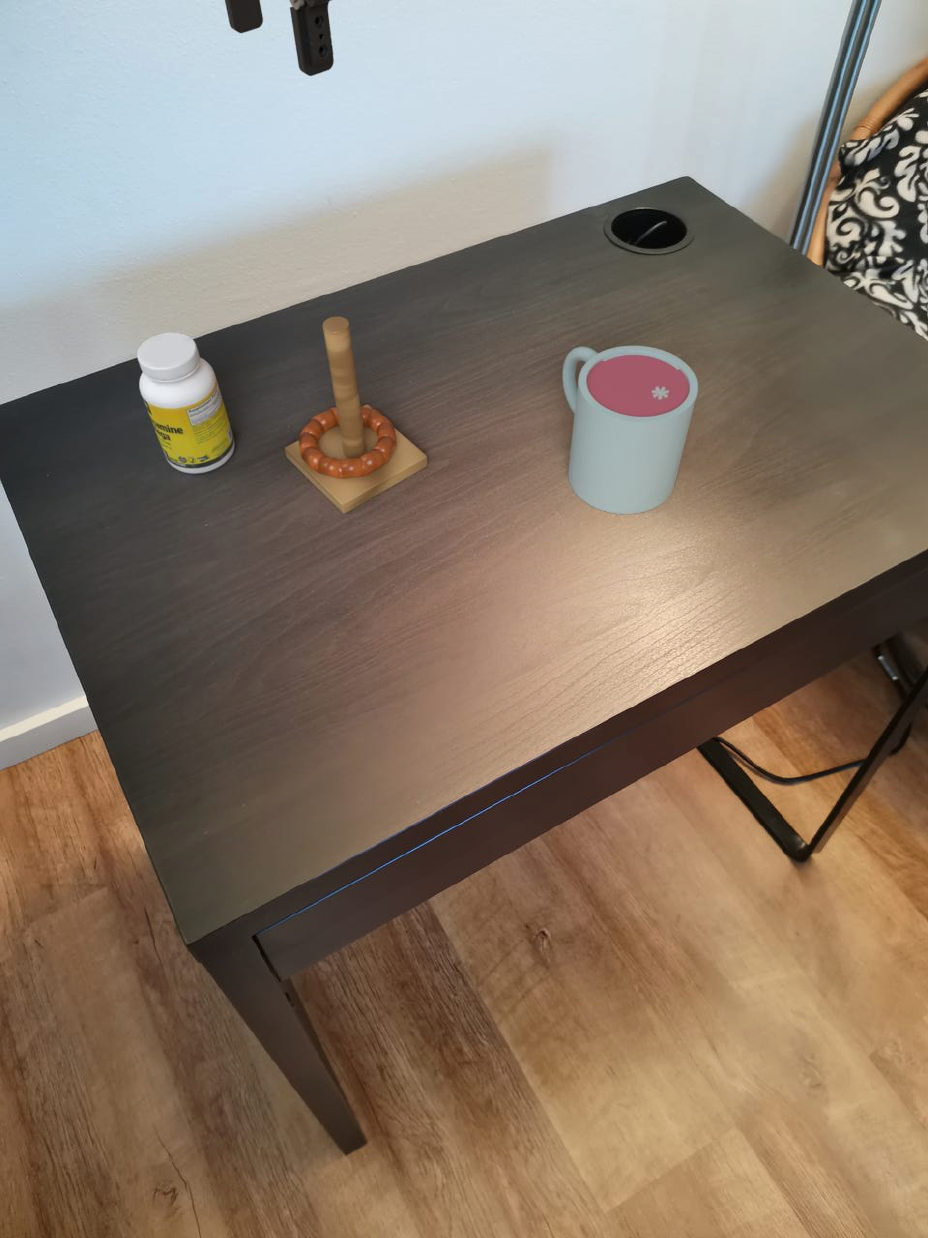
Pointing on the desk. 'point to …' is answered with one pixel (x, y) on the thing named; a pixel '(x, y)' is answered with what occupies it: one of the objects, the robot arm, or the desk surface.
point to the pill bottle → (184, 403)
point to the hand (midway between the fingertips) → (281, 49)
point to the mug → (627, 425)
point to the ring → (353, 465)
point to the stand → (353, 433)
